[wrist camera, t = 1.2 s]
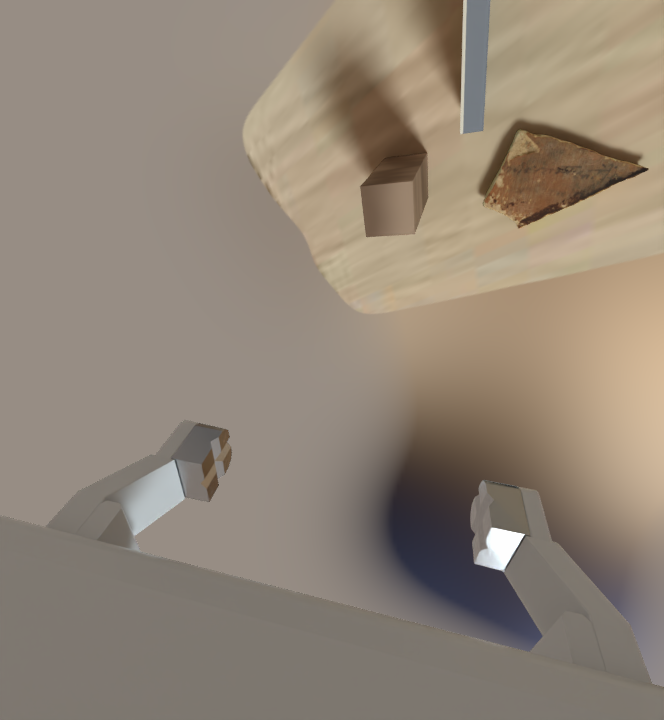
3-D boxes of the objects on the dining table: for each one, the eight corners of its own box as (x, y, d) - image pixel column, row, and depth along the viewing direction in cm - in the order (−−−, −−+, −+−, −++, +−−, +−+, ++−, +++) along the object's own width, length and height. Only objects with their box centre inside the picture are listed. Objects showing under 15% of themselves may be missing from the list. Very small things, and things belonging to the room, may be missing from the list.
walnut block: (427, 152, 36) (412, 181, 29) (428, 197, 39) (414, 234, 31) (384, 158, 38) (360, 186, 30) (388, 200, 40) (366, 237, 32)
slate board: (490, -14, 29) (491, -31, 22) (483, 113, 33) (483, 130, 27) (468, -9, 29) (463, -24, 22) (464, 116, 34) (460, 134, 27)
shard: (643, 164, 33) (650, 170, 31) (583, 246, 38) (587, 254, 36) (519, 123, 33) (520, 126, 32) (476, 209, 38) (476, 215, 37)
